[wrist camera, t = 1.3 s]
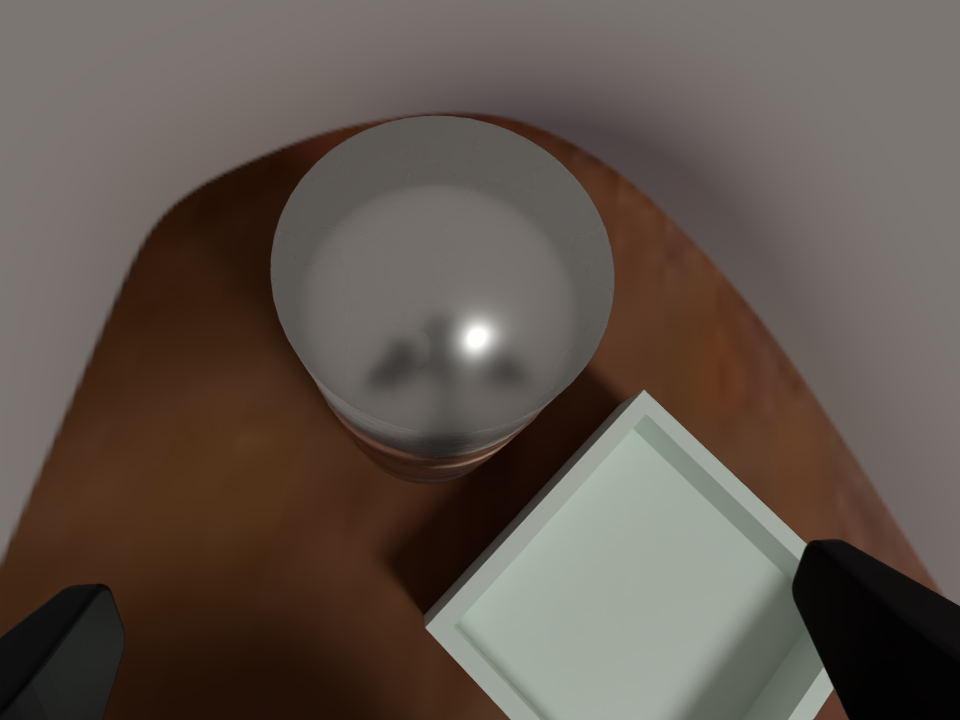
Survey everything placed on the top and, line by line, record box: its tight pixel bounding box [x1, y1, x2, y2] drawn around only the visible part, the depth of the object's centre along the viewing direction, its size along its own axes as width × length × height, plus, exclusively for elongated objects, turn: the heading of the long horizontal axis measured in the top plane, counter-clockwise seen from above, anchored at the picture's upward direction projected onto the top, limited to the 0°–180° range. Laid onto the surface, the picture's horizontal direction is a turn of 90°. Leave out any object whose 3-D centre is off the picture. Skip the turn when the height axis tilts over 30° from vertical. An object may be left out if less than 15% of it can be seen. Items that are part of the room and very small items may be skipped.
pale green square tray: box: [424, 390, 834, 720], centre depth 20 cm, size 11×11×2 cm
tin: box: [271, 116, 614, 484], centre depth 16 cm, size 6×6×12 cm
